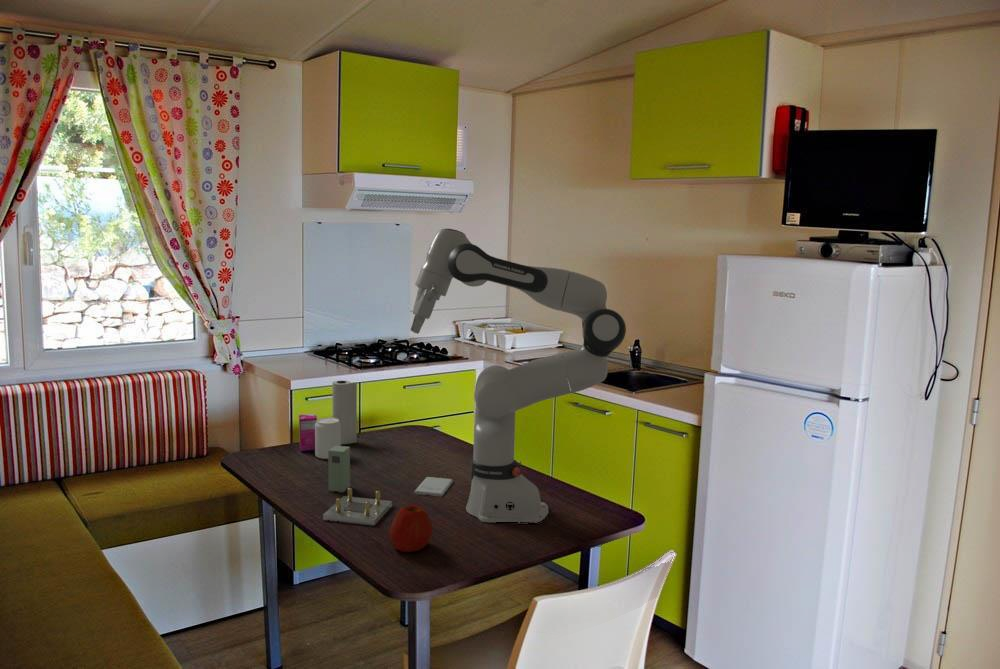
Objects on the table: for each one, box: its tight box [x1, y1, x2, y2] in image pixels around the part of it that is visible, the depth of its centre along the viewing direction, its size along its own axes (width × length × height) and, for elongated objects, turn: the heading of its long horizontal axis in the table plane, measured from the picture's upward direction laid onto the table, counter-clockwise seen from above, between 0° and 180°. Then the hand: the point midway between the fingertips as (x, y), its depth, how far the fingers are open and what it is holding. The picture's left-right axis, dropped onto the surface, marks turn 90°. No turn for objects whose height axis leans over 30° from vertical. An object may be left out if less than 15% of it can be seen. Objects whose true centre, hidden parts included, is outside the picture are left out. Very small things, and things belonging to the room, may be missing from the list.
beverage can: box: [314, 417, 342, 460], centre depth 263 cm, size 8×8×12 cm
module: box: [327, 445, 351, 493], centre depth 234 cm, size 4×5×12 cm
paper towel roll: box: [331, 380, 358, 446], centre depth 277 cm, size 7×6×21 cm
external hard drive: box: [413, 476, 454, 498], centre depth 238 cm, size 2×8×12 cm
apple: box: [389, 504, 433, 553], centre depth 197 cm, size 10×10×10 cm
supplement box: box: [298, 413, 318, 453], centre depth 270 cm, size 6×6×12 cm
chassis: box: [322, 487, 393, 526], centre depth 217 cm, size 14×14×5 cm
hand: (414, 332), depth 222 cm, fingers open, 8 cm apart
